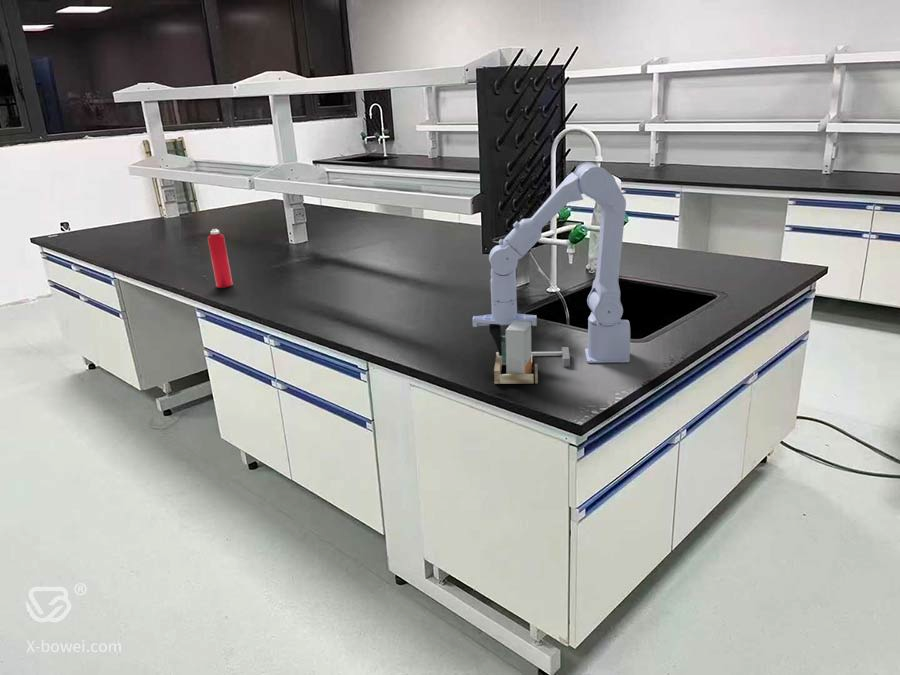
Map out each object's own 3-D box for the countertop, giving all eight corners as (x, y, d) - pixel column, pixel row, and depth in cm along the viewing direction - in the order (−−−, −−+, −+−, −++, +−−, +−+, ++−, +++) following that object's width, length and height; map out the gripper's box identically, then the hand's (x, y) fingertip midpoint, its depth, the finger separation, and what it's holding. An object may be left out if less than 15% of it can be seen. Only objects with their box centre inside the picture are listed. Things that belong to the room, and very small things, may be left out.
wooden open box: (537, 356, 159) (536, 334, 157) (537, 383, 145) (537, 359, 143) (497, 356, 160) (496, 334, 158) (494, 383, 146) (493, 359, 144)
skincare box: (525, 383, 146) (524, 331, 142) (506, 381, 148) (504, 329, 143) (532, 372, 151) (531, 321, 147) (514, 370, 153) (512, 320, 149)
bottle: (227, 287, 232) (217, 230, 225) (213, 287, 233) (202, 230, 226) (235, 283, 237) (225, 227, 230) (221, 283, 238) (211, 227, 231)
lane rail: (568, 354, 159) (568, 346, 159) (569, 366, 153) (569, 358, 152) (496, 355, 161) (496, 347, 161) (494, 367, 155) (494, 359, 154)
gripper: (536, 292, 155) (536, 347, 160) (473, 294, 157) (475, 348, 161) (536, 302, 148) (537, 359, 153) (470, 303, 150) (473, 359, 155)
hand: (505, 354), depth 157 cm, fingers closed on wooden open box, 2 cm apart
